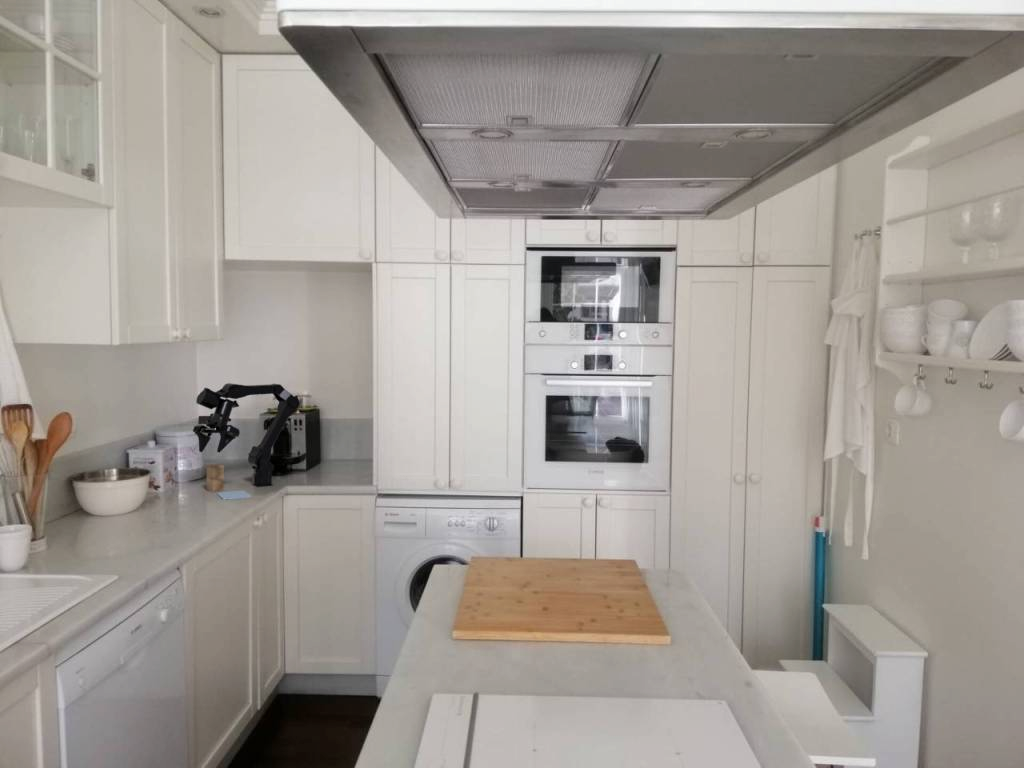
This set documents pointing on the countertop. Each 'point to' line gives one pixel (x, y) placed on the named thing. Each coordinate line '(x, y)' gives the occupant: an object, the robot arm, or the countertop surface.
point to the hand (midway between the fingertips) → (209, 452)
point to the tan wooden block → (215, 477)
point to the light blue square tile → (233, 495)
